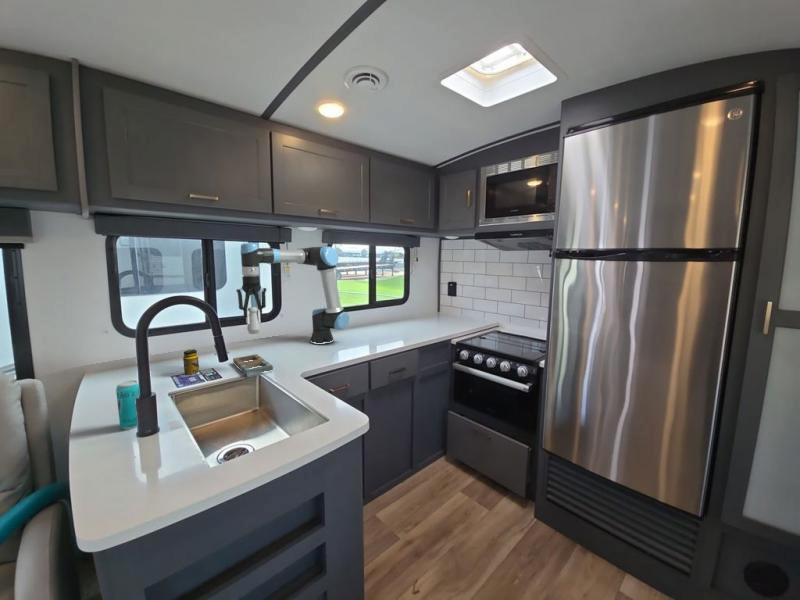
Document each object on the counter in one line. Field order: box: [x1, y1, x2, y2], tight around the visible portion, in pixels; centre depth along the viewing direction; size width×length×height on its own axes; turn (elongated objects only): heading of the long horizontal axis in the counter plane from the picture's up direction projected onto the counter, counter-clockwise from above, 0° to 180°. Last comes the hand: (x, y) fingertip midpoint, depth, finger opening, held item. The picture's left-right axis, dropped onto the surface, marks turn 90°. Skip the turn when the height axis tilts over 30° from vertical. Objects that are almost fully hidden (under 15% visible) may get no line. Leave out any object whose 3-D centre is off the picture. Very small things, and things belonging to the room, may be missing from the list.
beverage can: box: [115, 379, 140, 430], centre depth 105 cm, size 6×6×15 cm
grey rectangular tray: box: [232, 353, 274, 378], centre depth 164 cm, size 26×12×3 cm, turn 41°
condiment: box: [182, 349, 200, 375], centre depth 153 cm, size 7×8×12 cm
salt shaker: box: [246, 306, 261, 335], centre depth 156 cm, size 6×6×13 cm
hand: (253, 322), depth 156 cm, fingers closed on salt shaker, 4 cm apart
